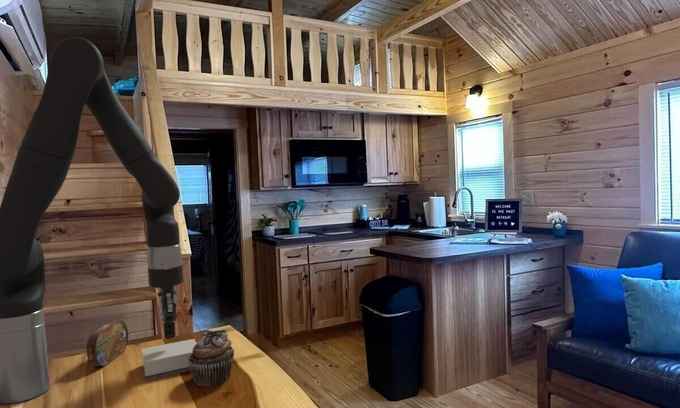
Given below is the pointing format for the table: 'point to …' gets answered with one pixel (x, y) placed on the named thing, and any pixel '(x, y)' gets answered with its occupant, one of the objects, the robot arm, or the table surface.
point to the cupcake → (211, 359)
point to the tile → (167, 357)
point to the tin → (107, 343)
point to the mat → (166, 373)
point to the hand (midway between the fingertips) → (169, 337)
